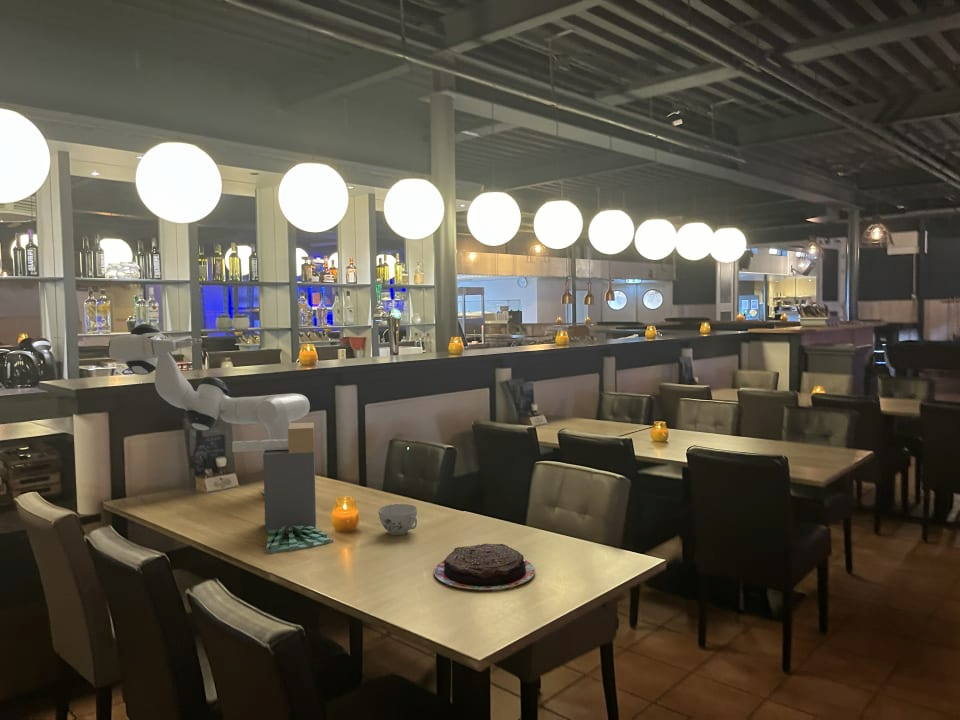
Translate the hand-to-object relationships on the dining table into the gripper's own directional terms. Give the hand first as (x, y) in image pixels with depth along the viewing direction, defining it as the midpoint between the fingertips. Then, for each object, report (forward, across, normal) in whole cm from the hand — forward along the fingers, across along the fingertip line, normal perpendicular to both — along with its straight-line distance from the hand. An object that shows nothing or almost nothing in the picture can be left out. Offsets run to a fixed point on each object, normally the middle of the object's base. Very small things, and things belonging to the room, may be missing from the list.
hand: (196, 342), depth 257 cm
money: (+34, +37, -63) cm, 80 cm away
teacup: (+67, +28, -65) cm, 97 cm away
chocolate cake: (+92, +66, -65) cm, 131 cm away
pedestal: (+30, +18, -63) cm, 72 cm away
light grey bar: (+26, +17, -36) cm, 48 cm away
